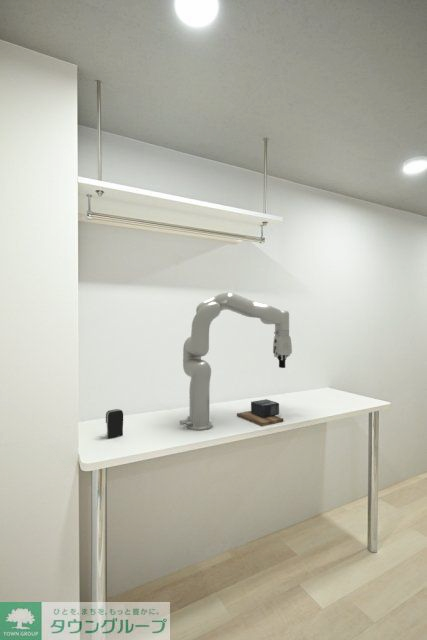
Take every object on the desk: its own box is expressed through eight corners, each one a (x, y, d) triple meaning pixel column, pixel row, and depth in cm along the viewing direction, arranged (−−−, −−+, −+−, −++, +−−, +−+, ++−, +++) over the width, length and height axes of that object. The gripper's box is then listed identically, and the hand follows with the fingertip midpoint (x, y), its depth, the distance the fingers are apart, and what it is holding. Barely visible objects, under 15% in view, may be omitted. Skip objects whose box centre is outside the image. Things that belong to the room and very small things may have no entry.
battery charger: (119, 433, 143) (120, 407, 143) (123, 435, 140) (123, 409, 141) (104, 436, 139) (104, 410, 139) (107, 439, 136) (108, 412, 136)
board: (261, 426, 153) (261, 423, 153) (236, 416, 170) (236, 413, 170) (283, 421, 161) (283, 418, 161) (257, 412, 178) (257, 409, 178)
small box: (266, 411, 175) (250, 413, 170) (266, 399, 176) (250, 400, 171) (279, 415, 166) (262, 418, 161) (279, 402, 166) (262, 405, 161)
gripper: (276, 334, 167) (276, 369, 167) (297, 333, 175) (297, 367, 175) (266, 333, 174) (266, 367, 174) (286, 333, 182) (287, 365, 182)
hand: (282, 367), depth 174 cm, fingers closed
